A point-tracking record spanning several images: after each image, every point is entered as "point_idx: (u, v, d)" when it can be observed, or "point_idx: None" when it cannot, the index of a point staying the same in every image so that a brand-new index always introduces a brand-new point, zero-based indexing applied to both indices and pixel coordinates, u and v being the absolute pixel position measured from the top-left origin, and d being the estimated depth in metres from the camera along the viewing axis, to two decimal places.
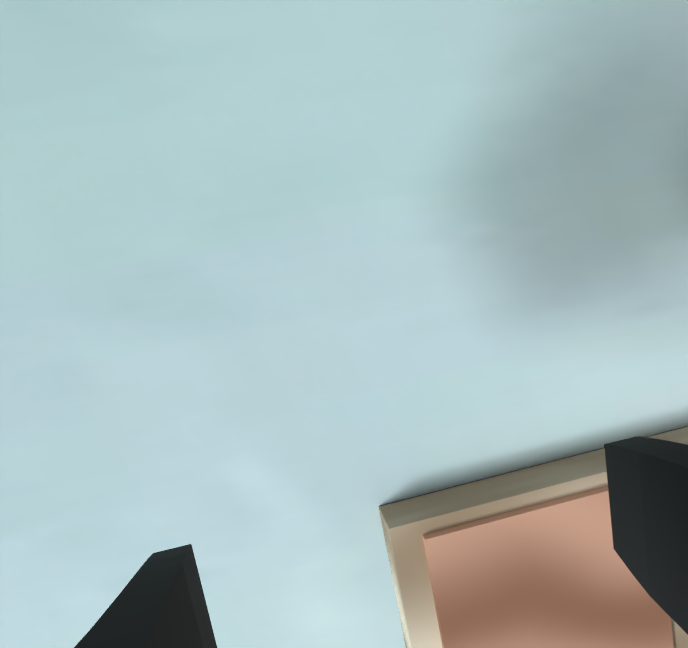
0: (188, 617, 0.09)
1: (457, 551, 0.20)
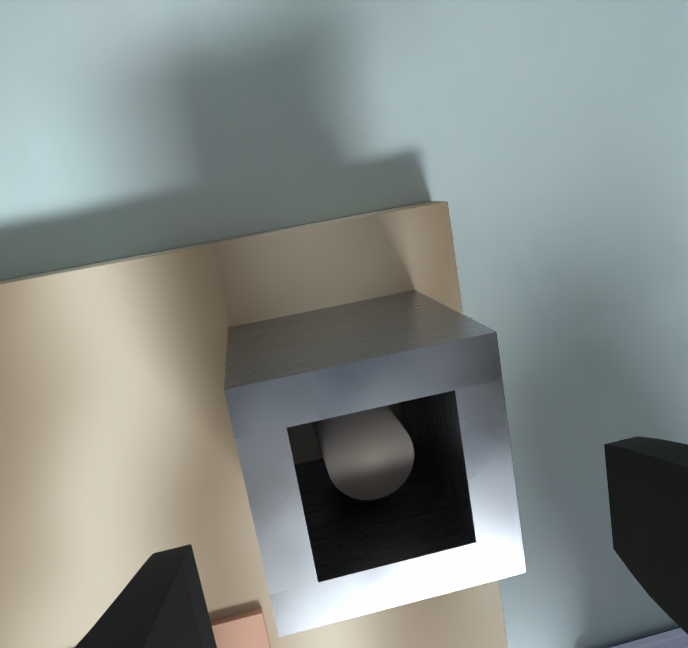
0: (188, 617, 0.09)
1: None
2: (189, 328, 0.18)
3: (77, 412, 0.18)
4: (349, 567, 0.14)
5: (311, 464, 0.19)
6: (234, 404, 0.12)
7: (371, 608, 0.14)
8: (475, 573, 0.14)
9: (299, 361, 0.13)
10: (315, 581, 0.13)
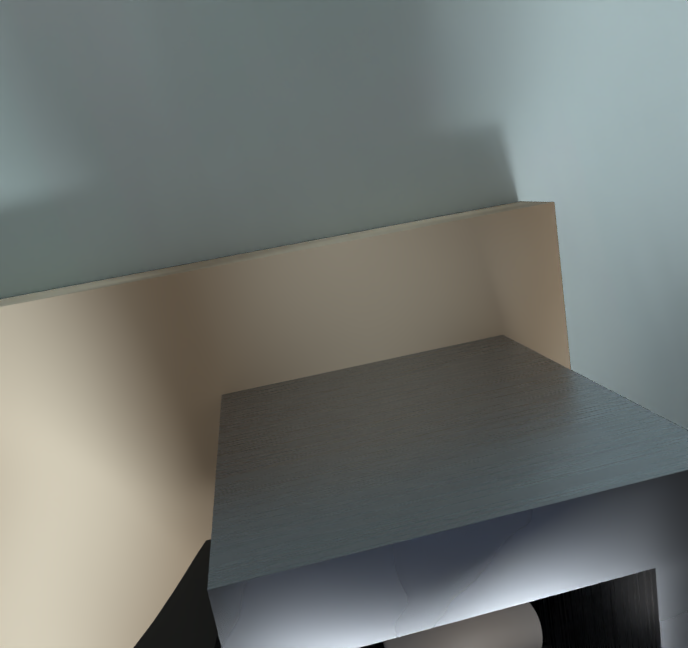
0: None
1: None
2: (161, 396, 0.12)
3: None
4: None
5: None
6: (229, 616, 0.06)
7: None
8: None
9: (352, 507, 0.07)
10: None
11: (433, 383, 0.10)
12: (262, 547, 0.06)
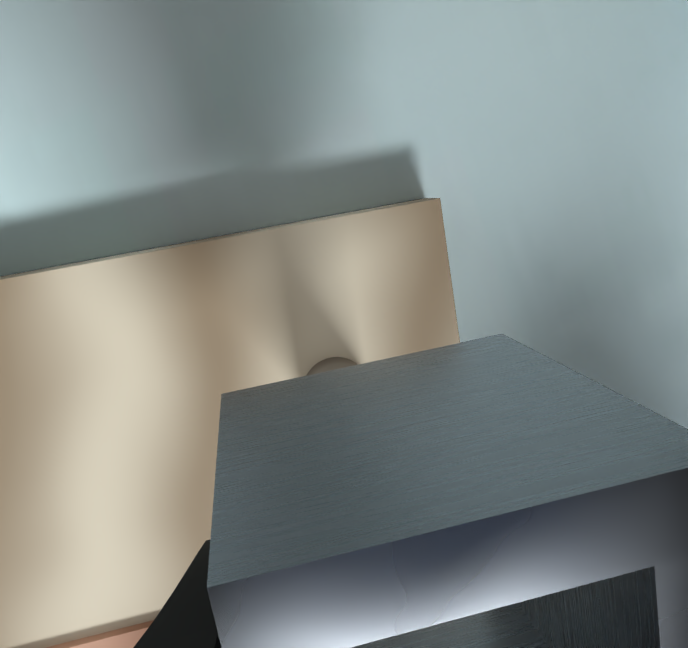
0: None
1: None
2: (189, 321, 0.18)
3: (81, 403, 0.18)
4: None
5: None
6: (228, 614, 0.06)
7: None
8: None
9: (351, 504, 0.07)
10: None
11: (432, 382, 0.10)
12: (262, 545, 0.06)
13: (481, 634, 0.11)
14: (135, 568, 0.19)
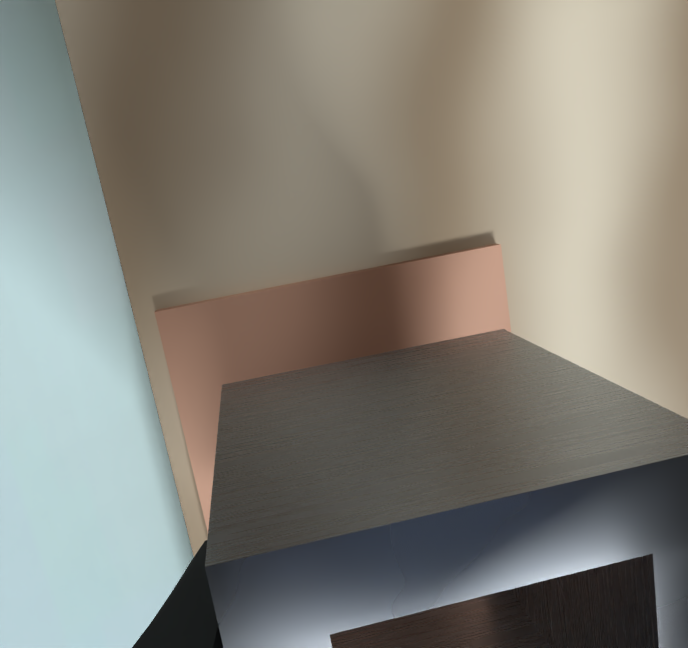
0: None
1: None
2: None
3: None
4: None
5: None
6: (226, 593, 0.06)
7: None
8: None
9: (351, 489, 0.07)
10: None
11: (433, 374, 0.10)
12: (260, 527, 0.06)
13: (479, 628, 0.11)
14: (341, 190, 0.15)
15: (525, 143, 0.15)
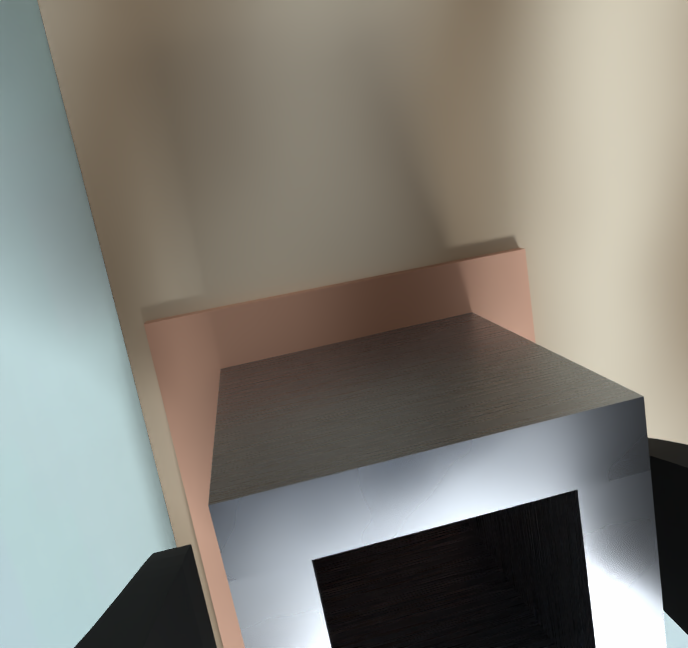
0: (188, 617, 0.09)
1: None
2: None
3: None
4: None
5: None
6: (226, 527, 0.07)
7: None
8: None
9: (328, 444, 0.08)
10: None
11: (406, 352, 0.12)
12: (253, 475, 0.08)
13: (453, 576, 0.12)
14: (350, 189, 0.13)
15: (552, 138, 0.14)
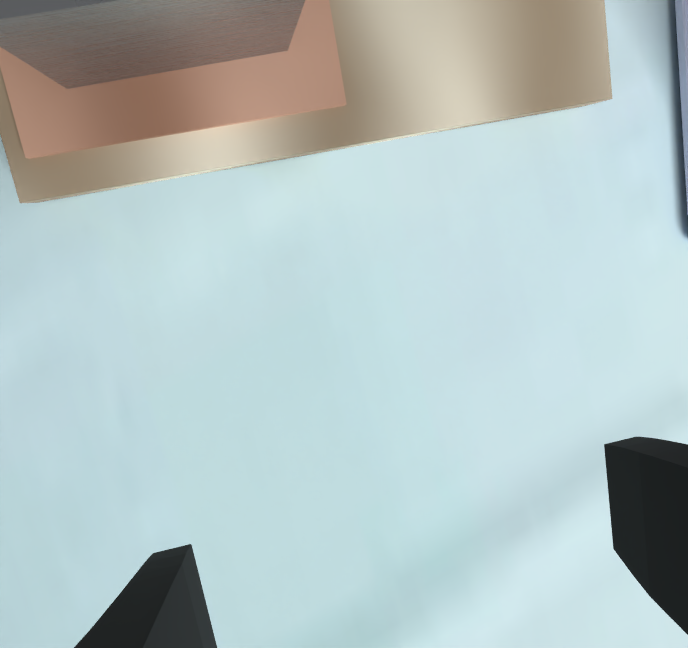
0: (188, 617, 0.09)
1: (43, 112, 0.16)
2: None
3: None
4: None
5: None
6: None
7: (101, 6, 0.10)
8: None
9: None
10: None
11: None
12: None
13: None
14: None
15: None
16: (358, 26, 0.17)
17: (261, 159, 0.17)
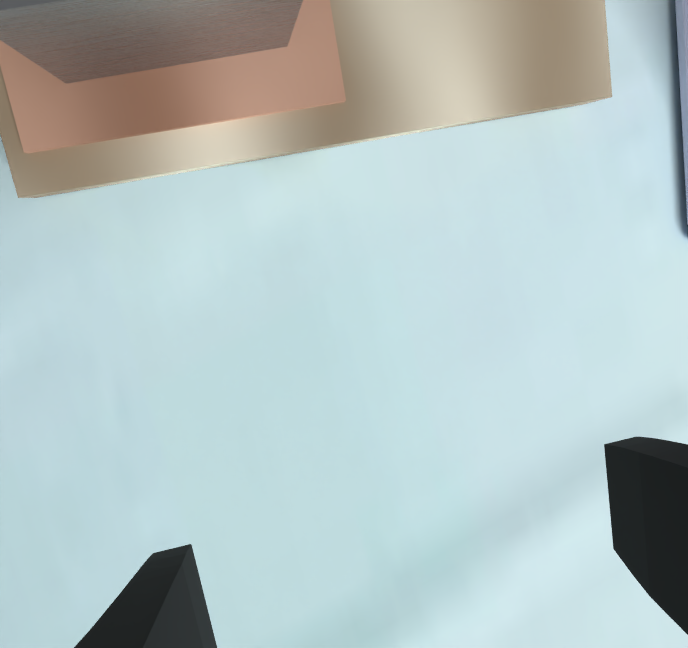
0: (188, 617, 0.09)
1: (42, 106, 0.15)
2: None
3: None
4: None
5: None
6: None
7: None
8: None
9: None
10: None
11: None
12: None
13: None
14: None
15: None
16: (358, 22, 0.17)
17: (260, 155, 0.17)
